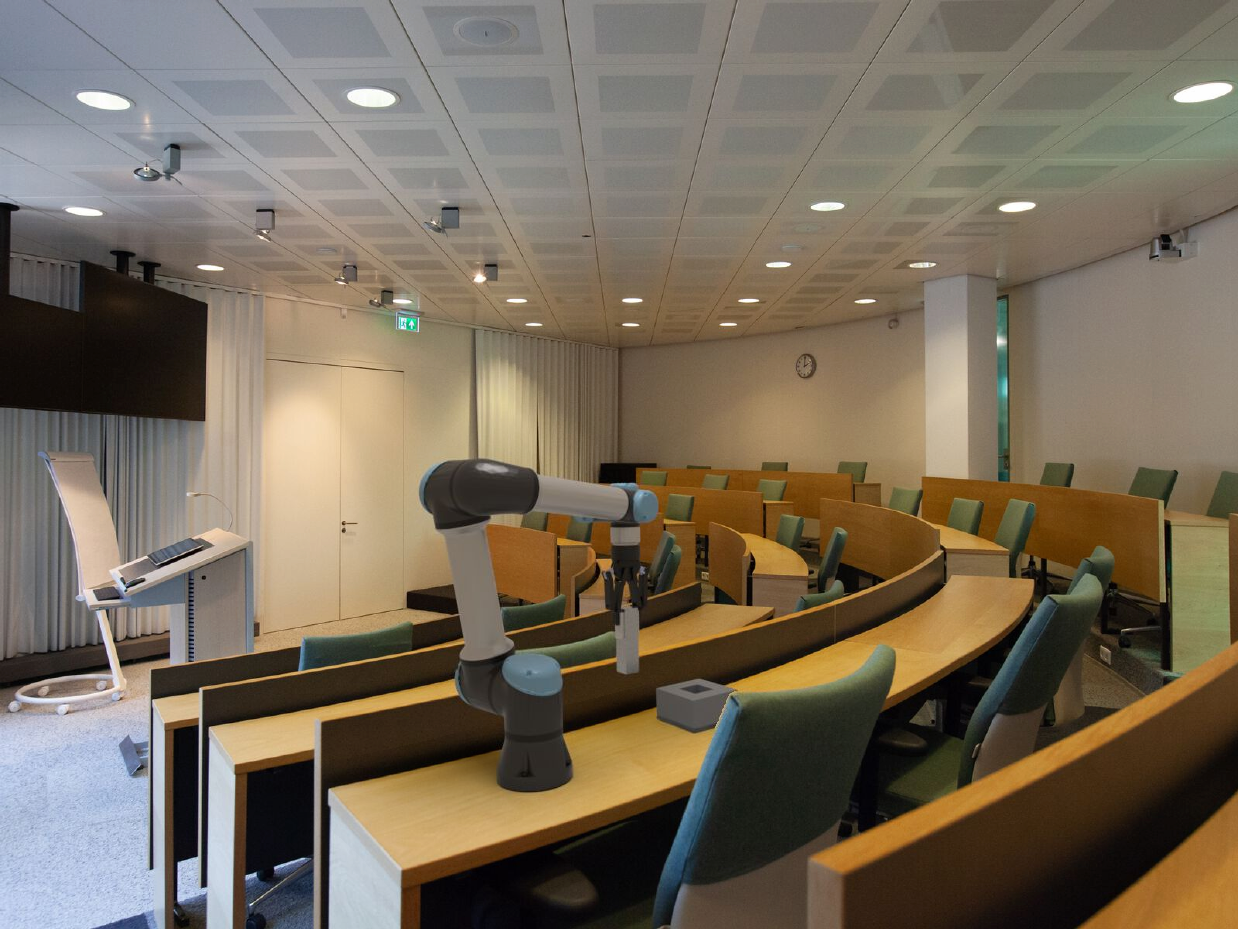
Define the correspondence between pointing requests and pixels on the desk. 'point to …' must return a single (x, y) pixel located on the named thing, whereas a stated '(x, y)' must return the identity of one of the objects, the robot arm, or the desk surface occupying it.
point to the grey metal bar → (628, 642)
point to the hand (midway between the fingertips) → (627, 636)
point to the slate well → (692, 704)
